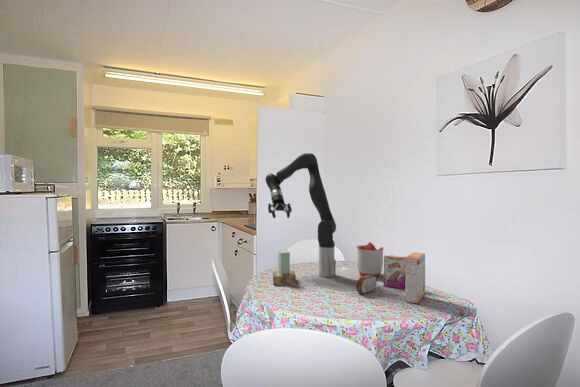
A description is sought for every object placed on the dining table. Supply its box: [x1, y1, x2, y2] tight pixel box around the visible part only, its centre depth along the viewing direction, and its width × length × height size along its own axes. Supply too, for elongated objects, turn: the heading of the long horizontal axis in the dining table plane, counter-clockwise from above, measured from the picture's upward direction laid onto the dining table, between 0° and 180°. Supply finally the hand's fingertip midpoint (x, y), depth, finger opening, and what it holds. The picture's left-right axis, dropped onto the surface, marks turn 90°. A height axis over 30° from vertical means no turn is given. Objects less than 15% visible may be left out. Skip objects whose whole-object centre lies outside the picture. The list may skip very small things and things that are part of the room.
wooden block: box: [272, 270, 297, 286], centre depth 185 cm, size 12×12×5 cm
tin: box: [356, 274, 378, 295], centre depth 168 cm, size 15×3×8 cm, turn 134°
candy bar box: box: [383, 254, 408, 289], centre depth 178 cm, size 11×5×16 cm, turn 65°
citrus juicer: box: [356, 241, 384, 278], centre depth 200 cm, size 16×17×20 cm
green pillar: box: [277, 250, 291, 275], centre depth 185 cm, size 5×5×12 cm
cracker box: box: [404, 252, 426, 304], centre depth 158 cm, size 14×6×21 cm, turn 144°
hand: (281, 217), depth 203 cm, fingers open, 8 cm apart
